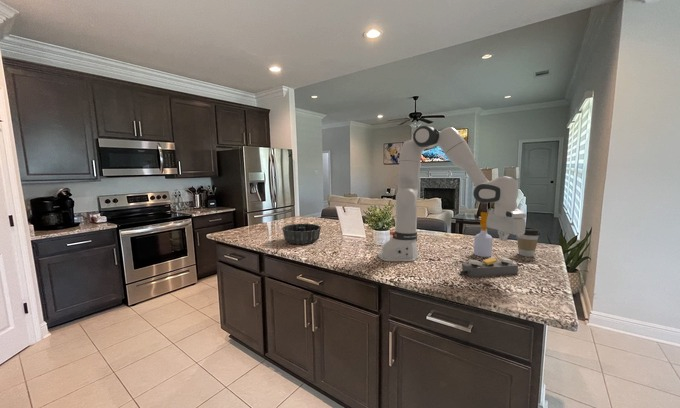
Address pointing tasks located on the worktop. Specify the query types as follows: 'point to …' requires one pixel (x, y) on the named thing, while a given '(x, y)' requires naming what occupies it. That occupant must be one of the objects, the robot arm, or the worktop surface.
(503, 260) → the plate
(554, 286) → the worktop surface
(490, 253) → the soap bottle
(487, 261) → the block
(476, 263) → the block
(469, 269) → the power strip
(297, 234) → the bundt pan
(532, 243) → the coffee cup
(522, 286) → the worktop surface
